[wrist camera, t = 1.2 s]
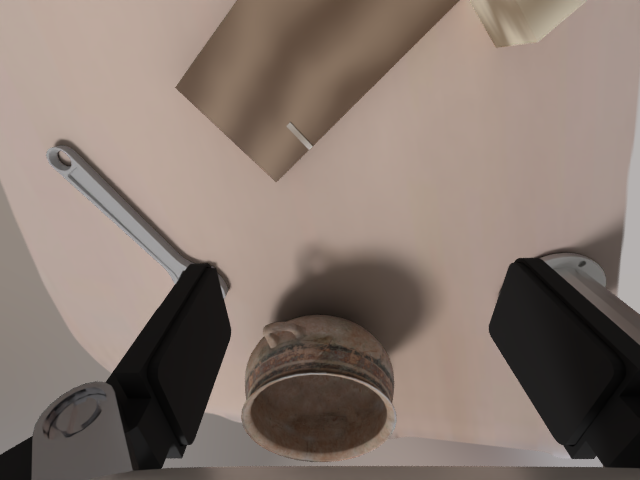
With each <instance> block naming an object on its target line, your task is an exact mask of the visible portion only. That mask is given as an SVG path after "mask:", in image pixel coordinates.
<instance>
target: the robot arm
mask: <svg viewBox="0 0 640 480" xmlns="http://www.w3.org/2000/svg"><path fill="white" fill-rule="evenodd" d="M605 287H606V275H605V273H604V270H603V269H602V268H601V267H600V266H599V264H597V263H596V262H594V261H593V260H592V259H590V258H588V257H586V256H584V255H580V254H576V253H558V254H552V255H548V256H544V257H541V258H519V259H517V260H516V261H515V262H514V263H511V264H510V266H509V268H508V271H507V274H506V277H505V280H504V283H503V286H502V288H501V291H500V293H499V297H498V300H497V303H496V306H495V309H494V312H493V315H492V318H491V321H490V324H489V333H490V335H491V337H492V339H493V341H494V342H495V344H496V345H497V347H498V349H499V350H500V352H501V353H502V355H503V357H504V358H505V360H506V362H507V363H508V365H509V366H510V368H511V370H512V371H513V373H514V374H515V376H516V378H517V379H518V381H519V382H520V384H521V386H522V387H523V389H524V390H525V392H526V394H527V395H528V397H529V399H530V400H531V402H532V403H533V405H534V407H535V408H536V410H537V411H538V413H539V415H540V416H541V418H542V419H543V421H544V423H545V424H546V426H547V428H548V429H549V431H550V432H551V434H552V436H553V437H554V438H555V440H556V441H557V442H558V443H559V444H561V445H564V447H565V449H566V450H567V452H568V453H569V455H570V457H571V458H572V459H594V458H595V457H596V456H597V457H598V458H599V460H600V461H601V463H602V464H603V467H494V466H489V467H488V466H484V467H483V466H479V467H478V466H470V467H469V466H268V467H267V466H252V467H251V466H239V467H197V468H196V467H194V468H165V469H161V468H162V466H163V464H164V461H165V459H166V458H182V457H183V454H184V452H185V449H186V446H187V445H191V444H192V443H193V441H194V439H195V437H196V434H197V431H198V428H199V425H200V423H201V420H202V417H203V414H204V411H205V409H206V406H207V403H208V400H209V397H210V394H211V392H212V389H213V386H214V383H215V380H216V377H217V375H218V372H219V369H220V366H221V363H222V360H223V358H224V355H225V352H226V349H227V346H228V343H229V341H230V337H231V327H230V322H229V318H228V314H227V310H226V306H225V302H224V298H223V294H222V290H221V285H220V281H219V277H218V273H217V270H216V268H211V266H210V264H208V263H205V264H190V265H189V266H188V267H187V268H186V270H185V271H184V273H183V274H182V275H181V277H180V278H179V280H178V281H177V283H176V284H175V285H174V287H173V288H172V290H171V291H170V293H169V294H168V295H167V297H166V298H165V300H164V301H163V303H162V304H161V305H160V307H159V308H158V309H157V310H156V311H155V313H154V314H153V316H152V317H151V319H150V320H149V321H148V323H147V324H146V326H145V327H144V329H143V330H142V331H141V333H140V334H139V336H138V337H137V338H136V340H135V341H134V343H133V344H132V346H131V347H130V348H129V350H128V351H127V353H126V354H125V356H124V357H123V358H122V360H121V361H120V363H119V364H118V366H117V367H116V368H115V370H114V371H113V373H112V374H111V376H110V377H109V378H108V380H107V381H106V383H105V382H90V383H85V384H83V385H80V386H78V387H75V388H73V389H71V390H70V391H68V392H66V393H64V394H63V395H61V396H60V397H59V398H57V399H56V400H55V401H54V402H53V403H51V404H50V405H49V406H48V408H47V409H46V410H45V411H44V412H43V413H42V414H41V416H40V417H39V419H38V421H37V422H36V424H35V427H34V431H33V436H32V437H30V438H28V439H27V440H25V441H23V442H21V443H20V444H18V445H16V446H15V447H13V448H11V449H9V450H8V451H6V452H4V453H3V454H1V455H0V480H640V314H638V313H637V312H636V311H635V310H633V309H632V308H631V307H629V306H628V305H627V304H626V303H624V302H623V301H622V300H620V299H619V298H618V297H617V296H615V295H614V294H613V293H611V292H610V291H609V290H608V289H606V288H605Z"/></svg>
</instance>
